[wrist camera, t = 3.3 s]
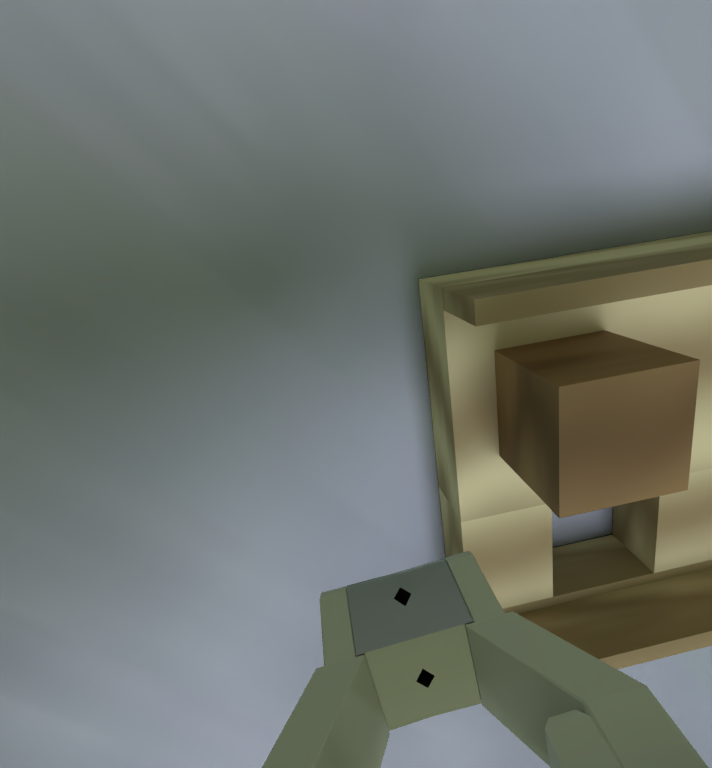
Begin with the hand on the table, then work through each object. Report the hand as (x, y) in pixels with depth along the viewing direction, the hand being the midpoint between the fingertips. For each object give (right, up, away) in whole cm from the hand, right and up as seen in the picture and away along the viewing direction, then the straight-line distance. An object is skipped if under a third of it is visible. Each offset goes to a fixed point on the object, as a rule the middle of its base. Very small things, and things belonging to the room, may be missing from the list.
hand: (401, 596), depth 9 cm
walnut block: (+7, +4, +9) cm, 12 cm away
